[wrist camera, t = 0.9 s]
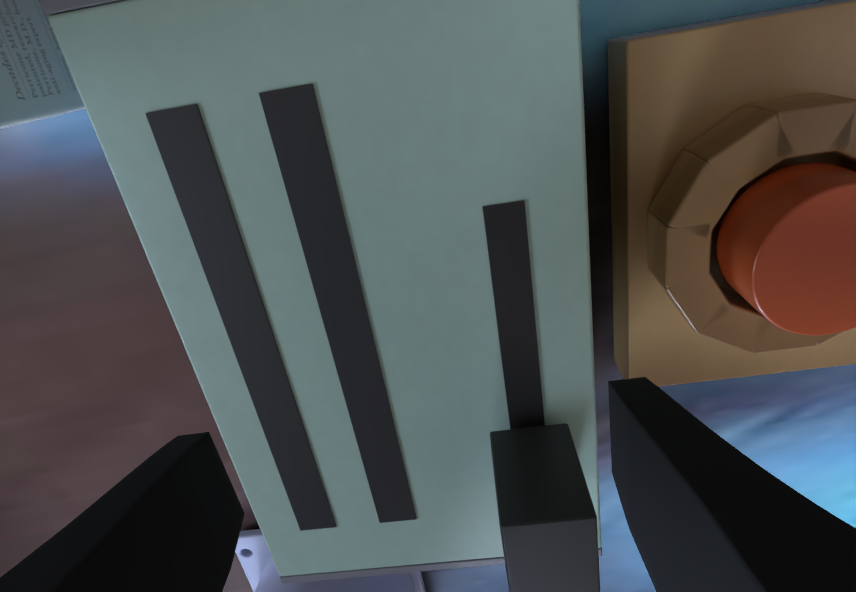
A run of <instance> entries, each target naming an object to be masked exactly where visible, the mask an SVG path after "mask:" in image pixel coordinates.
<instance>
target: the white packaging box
mask: <svg viewBox="0 0 856 592" xmlns="http://www.w3.org/2000/svg"><path fill="white" fill-rule="evenodd" d="M50 16H51V15H46V14H45V13H44V11H43V9H42V6H41V4H40V2H39V0H0V129H3V128H7V127H12V126H17V125H21V124H26V123H30V122H34V121H38V120H42V119H47V118H51V117H55V116H59V115H63V114H67V113H71V112H75V111H79V110H84V109H86V108H85V106H84V104H83V101H82V99H81V96H80V94H79V92H78V89H77V87H76V84H75V82H74V80H73V77H72V75H71V72H70V70H69V68H68V65H67V63H66V60H65V58H64V56H63V53H62V51H61V48H60V46H59V43H58V41H57V39H56V36H55V34H54V31H53V29H52V27H51V24H50V22H49V17H50Z"/></svg>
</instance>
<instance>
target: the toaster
mask: <svg viewBox="0 0 856 592" xmlns="http://www.w3.org/2000/svg"><path fill="white" fill-rule="evenodd" d="M39 2H40V4H41V6H42V9H43V11H44V13H45V14H46V15H51V16H50V17H49V22H50V24H51V27H52V29H53V31H54V34H55V36H56V39H57V41H58V43H59V46H60V48H61V51H62V53H63V56H64V58H65V60H66V63H67V65H68V68H69V70H70V72H71V75H72V77H73V80H74V82H75V84H76V87H77V89H78V92H79V94H80V96H81V99H82V101H83V104H84V106H85V108H86V111H87V113H88V116H89V118H90V120H91V123H92V125H93V128H94V130H95V133H96V135H97V137H98V140H99V142H100V145H101V147H102V149H103V152H104V154H105V157H106V159H107V161H108V164H109V166H110V169H111V171H112V173H113V176H114V178H115V181H116V183H117V185H118V188H119V190H120V193H121V195H122V198H123V200H124V202H125V205H126V207H127V210H128V212H129V214H130V217H131V219H132V222H133V224H134V226H135V229H136V231H137V234H138V236H139V238H140V241H141V243H142V246H143V248H144V250H145V253H146V255H147V258H148V260H149V262H150V265H151V267H152V270H153V272H154V275H155V277H156V279H157V282H158V284H159V287H160V289H161V291H162V294H163V296H164V299H165V301H166V303H167V306H168V308H169V311H170V313H171V315H172V318H173V320H174V323H175V325H176V327H177V330H178V332H179V335H180V337H181V340H182V342H183V344H184V347H185V349H186V352H187V354H188V356H189V359H190V361H191V364H192V366H193V368H194V371H195V373H196V376H197V378H198V380H199V383H200V385H201V388H202V390H203V392H204V395H205V397H206V400H207V402H208V404H209V407H210V409H211V412H212V414H213V417H214V419H215V421H216V424H217V426H218V429H219V431H220V433H221V436H222V438H223V441H224V443H225V445H226V448H227V450H228V453H229V455H230V457H231V460H232V462H233V465H234V467H235V469H236V472H237V474H238V477H239V479H240V482H241V484H242V486H243V489H244V491H245V494H246V496H247V498H248V501H249V503H250V506H251V508H252V510H253V513H254V515H255V518H256V520H257V522H258V525H259V527H260V530H261V532H262V534H263V537H264V539H265V542H266V544H267V546H268V549H269V551H270V554H271V556H272V559H273V561H274V563H275V566H276V568H277V571H278V573H279V575H280V580H281V582H282V584H286V583H297V582H308V581H320V580H331V579H342V578H354V577H365V576H377V575H388V574H399V573H411V572H422V571H434V570H445V569H456V568H468V567H479V566H491V565H502V564H505V559H504V552H503V545H502V539H501V532H500V525H499V516H498V507H497V498H496V489H495V480H494V471H493V462H492V452H491V443H490V432H492V431H500V430H509V429H518V428H527V427H536V426H545V425H554V424H563V423H567V424H568V425H569V428H570V432H571V435H572V438H573V441H574V444H575V448H576V451H577V454H578V457H579V461H580V464H581V467H582V470H583V473H584V477H585V480H586V483H587V486H588V490H589V493H590V496H591V499H592V502H593V506H594V509H595V512H596V515H597V531H598V554H599V556H602V548H601V527H600V501H599V476H598V450H597V425H596V400H595V374H594V349H593V323H592V298H591V273H590V247H589V222H588V197H587V171H586V146H585V120H584V95H583V70H582V44H581V19H580V0H39Z"/></svg>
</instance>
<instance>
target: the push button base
mask: <svg viewBox="0 0 856 592" xmlns="http://www.w3.org/2000/svg"><path fill="white" fill-rule="evenodd" d="M608 83H609V132H610V181H611V229H612V278H613V327H614V361H615V363H616V365H617V367H618V369H619V371H620V372H621V374H622V376H623V378H624V379H631V378H639V377H646V378H647V379H649V380H650V381H651V382H653V383H654V384H655V385H656V386H658V387H660V386H668V385H677V384H686V383H694V382H703V381H712V380H720V379H729V378H738V377H746V376H755V375H764V374H772V373H781V372H790V371H798V370H807V369H816V368H824V367H833V366H842V365H850V364H856V327H855V328H852V329H850V330H847V331H843V332H839V333H835V334H829V335H818V336H813V335H802V334H796V333H792V332H788V331H785V330H783V329H781V328H779V327H777V326H775V325H774V324H772V323H771V322H769V321H768V320H767V319H766V318H765V317H764V316H763V315H762V314H760V313H759V312H758V311H757V310H756V309H755V308H754V307H753V306H752V305H751V304H749V303H748V302H747V301H746V300H745V299H744V298H743V297H742V296H741V295H740V294H738V293H737V292H736V291H735V290H734V289H733V288H732V287H731V286H730V285H729V284H728V283H727V282H726V280H725V279H724V277H723V276H722V274H721V272H720V269H719V266H718V262H717V256H716V244H717V237H718V233H719V230H720V227H721V225H722V222H723V220H724V218H725V216H726V214H727V213H728V211H729V209H730V208H731V206H732V205H733V204H734V202H735V201H736V200H737V199H738V198H739V197H740V196H741V194H742V193H743V192H745V191H746V190H747V189H748V188H749V187H750V186H751V185H753V184H754V183H755V182H757V181H758V180H760V179H761V178H763V177H765V176H766V175H768V174H770V173H772V172H774V171H777V170H779V169H781V168H784V167H787V166H791V165H795V164H799V163H807V162H825V163H830V164H835V165H838V166H840V167H843V168H846V169H849V170H852V171H855V172H856V0H826V1H820V2H815V3H809V4H803V5H797V6H792V7H786V8H780V9H775V10H769V11H763V12H758V13H752V14H746V15H741V16H735V17H729V18H723V19H718V20H712V21H706V22H701V23H695V24H689V25H684V26H678V27H672V28H667V29H661V30H655V31H649V32H644V33H638V34H632V35H627V36H621V37H615V38H610V39H609V40H608Z"/></svg>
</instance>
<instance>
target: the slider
mask: <svg viewBox="0 0 856 592" xmlns="http://www.w3.org/2000/svg"><path fill="white" fill-rule="evenodd" d="M490 443H491V452H492V462H493V471H494V480H495V489H496V498H497V507H498V516H499V525H500V532H501V539H502V545H503V552H504V559H505V565H506V572H507V579H508V585H509V592H600V578H599V554H598V531H597V515H596V512H595V509H594V506H593V502H592V499H591V496H590V493H589V490H588V486H587V483H586V480H585V477H584V473H583V470H582V467H581V464H580V461H579V457H578V454H577V451H576V448H575V444H574V441H573V438H572V435H571V432H570V428H569V425H568V424H567V423H563V424H554V425H545V426H536V427H527V428H518V429H509V430H500V431H492V432H490Z"/></svg>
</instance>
